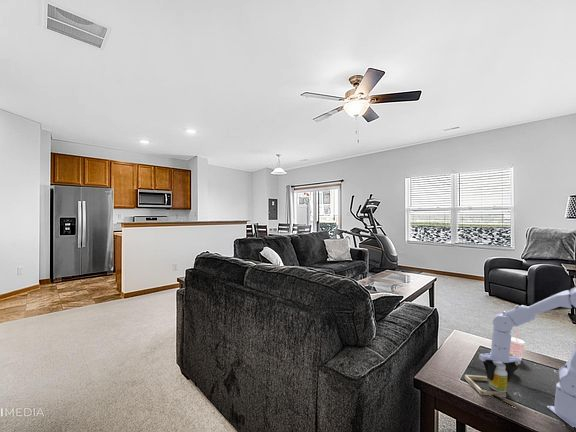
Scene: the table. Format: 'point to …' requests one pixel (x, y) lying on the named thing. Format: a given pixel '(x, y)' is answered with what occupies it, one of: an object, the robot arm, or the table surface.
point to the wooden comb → (502, 400)
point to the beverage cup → (516, 346)
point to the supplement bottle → (499, 378)
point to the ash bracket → (482, 392)
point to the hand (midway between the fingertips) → (497, 379)
